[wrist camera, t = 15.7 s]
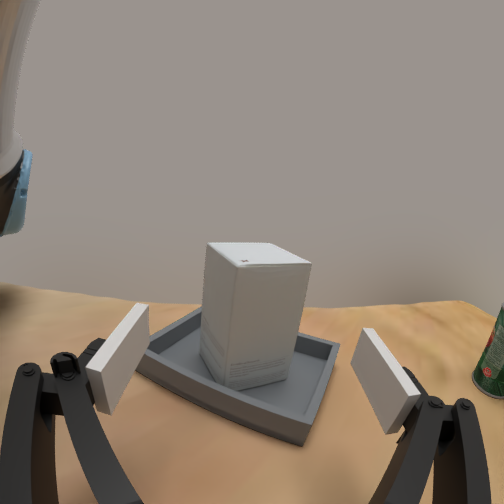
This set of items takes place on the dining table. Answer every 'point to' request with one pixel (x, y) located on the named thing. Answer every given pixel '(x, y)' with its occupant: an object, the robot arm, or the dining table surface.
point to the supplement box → (251, 312)
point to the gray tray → (247, 400)
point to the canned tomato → (492, 362)
